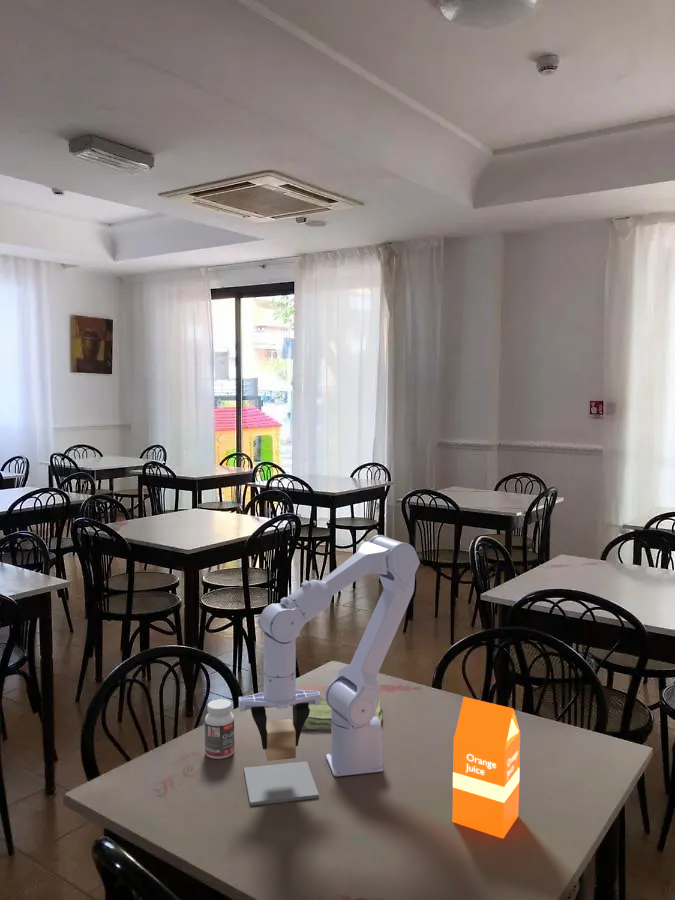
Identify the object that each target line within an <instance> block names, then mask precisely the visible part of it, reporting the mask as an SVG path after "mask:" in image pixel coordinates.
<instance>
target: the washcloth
mask: <svg viewBox="0 0 675 900" xmlns="http://www.w3.org/2000/svg"><path fill="white" fill-rule="evenodd" d="M381 707H382V701H381V700H378V699H377V705H376V713H375V715H374V716H375V717H378V718H379V721H380V724H381V725H382V719H383V712H382V711H381ZM309 709H310V713H309V716H308V718H307V719H306V721H305V723H304V725H303V728H302V730H305V729H309V730H310V731H331V716H332V714H331V707H329V705H328V704H327V702H326V699H325V696H320V705H314V704H309Z"/></svg>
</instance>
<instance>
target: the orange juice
mask: <svg viewBox="0 0 675 900" xmlns="http://www.w3.org/2000/svg"><path fill="white" fill-rule="evenodd" d="M454 733H455V734H454V736H453V759H452V760H453V761H452V762H453V763H452V764H453V765H452V766H453V769H452V770H453V771H452V820H451V821H452V823H455V824H457V825H460V826H464V827H467V828H469V829H472V830H476V831H479V832H482V833H485V834H488V835H490V836H493V837H497V838H500V839H504V838H505V837H506V835H507V834H508V832H509V830H510V829H511V828H512V826H513V825H514V823H515V822H516V820H517V819H518V817H519V803H520V802H519V801H520V799H519V798H520V773H521V772H520V770H521V769H520V768H521V767H520V763H521V762H520V761H521V760H520V753H521V751H520V749H521V748H520V747H521V731H520V727H519V724H518V720H517V716H516V714H515V709H514V707H513V708H512V707H509V706H504V705H499V704H496V703H493V702H492V703H490V702H487V701H484V700H483V701H482V700H477V699H474V698H469V697H466V696H463V699H462V703H461V707H460V712H459V717H458V721H457V725H456V730H455V732H454Z"/></svg>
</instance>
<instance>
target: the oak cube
mask: <svg viewBox="0 0 675 900" xmlns="http://www.w3.org/2000/svg"><path fill="white" fill-rule="evenodd" d="M266 738H267V749H264V751H265V755H266V760H267V762H269V761H279V760H281V761H282V760H289V759H296V758H297V757H296V756H297V753H296V751H297V746H296V730H295V727H294V725H293V718H286V719H285V718H284V719H275V720H273V719H272V720H267V722H266Z"/></svg>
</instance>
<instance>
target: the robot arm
mask: <svg viewBox="0 0 675 900" xmlns="http://www.w3.org/2000/svg"><path fill="white" fill-rule="evenodd" d="M420 564H421V562H420V559H419V557H418V554H417V552H416V550H415V548H414V546H413V545H411V544H410V543H408V542H402V541H399V540H395V539H393V538H390V537H388V536H386V535H383V534H377V535H374V536H373V537H371V538H370V539H369V540H368V541H366V542H364V543H362V544H361V545H360V547H359V548H358V550H357V551H356V552H355V553H354V554H353V555H351V556H350V557H349V558H348V559H346V560H345V561H344V562H342V563H341V564H340V565H339V566H338V567H336V568H335V569H334V570H332V571H331V572H330V573H329V574H328V575H326V576H325V577H324V578H322V579H320V580H317V579H311V580H309V581H308V580H307V579H306V580H304V581H303V582H302V583H301V584H300V585H301V587H299V588H298V589H296V590H295V591H293V592H292V593H291V594H290V595H288V596H286V597H285V596H284V597H282V598H280V602H279V603H278V602H276V603H273V602H272V603H270V604H269V605H267V606H265V607H264V609H263V610H262V612H261V613H260V616H259V618H257V624H258V627H259V629H260V630H261V632H262V633H263V692H257V693H253V694H250V695H245V696H238V711H239V712H240V713H241V712H246V710H250V712H251V716H252V718H253V721H254V723H255V725H256V726H257V729H258V732H259V735H260V739H261V746H262V750H265V749H267V738H266V722H267V721H268V720H267V719H268V717H267V713H266V712H267V711H266V709H269V708H270V709H271V708H277V709H279V710H281V709H283V710H284V709H288V708H289V707H292V722H293V725H294V727H295V730H296V747H298V746H299V742H300V737H301V733H302V730H303V725H304V723H305V721H306V719H307V718H308V716H309V713H310V709H309V704H314V705H320V697H321V692H320V691H319V690H305V689H304V690H303V689H296V687H297V686H296V675H297V674H296V673H297V672H296V671H297V670H296V667H297V665H296V661H297V660H296V659H297V658H296V655H297V651H296V649H297V647H296V639H297V638H298V637H299V635H300V634H301V632H302V629H303V627H304V626H305V625H306V624H307V623H308V622H310V621H311V620H312V619H314V618H315V617H316V616H317V615H319V614H320V613H322V612H323V611H324V610H326V609H327V608H329V606H330V605H331V603H332V600H333V596H334V595H336V594H337V593H339V592H340V591H342V590H343V589H345V588H347V587H349V586H350V585H352V584H353V583H355V582H356V581H358V580H360V579H361V578H362V577H364V576H366V575H369V574H371V575H378V578H379V580H380V582H381V585H382V588H383V590H382V592H381V594H380V596H379V598H378V601H377V604H376V606H375V608H374V609H373V612H372V614H371V616H370V618H369V621H368V624H367V625H366V628H365V630H364V633H363V635H362V637H361V639H360V641H359V644H358V646H357V648H356V650H355V653H354V655H353V658H352V659H351V661H350V664H348V665H345V666H344V667H342V668H341V669H339V671H338V673H337V675H336V676H335V678H334V679H332V681H331V682H329V684H328V686H326V690H325V694H324V697H325V699H326V702H327V704H328V705H329V707H331V714H332V716H331V730H330V731H331V733H330V734H331V735H330V736H331V737H330V739H331V740H330V741H331V742H330V748H331V749H330V750H331V753H327V754H326V755H325V758H326V760H327V763H328V765H329V767H330V770H331V772H332V775H333V777H343V776H353V775H362V774H370V773H371V774H372V773H379V772H380V773H381V772H383V771H384V766H383V729H382V723H381V724H380V721H379V718H378V717H375V716H374V715H375V713H376V705H377V700H378V699H379V695H380V693H381V691H380V690H381V689H380V685H379V682H378V678H377V676H378V674H379V672H380V670H381V667H382V665H383V664H384V663H383V662H384V660H385V658H386V656H387V655H388V651H389V649H390V646H391V644H392V642H393V641H394V638H395V636H396V633H397V632H398V629H399V626H400V624H401V622H402V619H403V618H404V615H405V613H406V612H407V611H406V610H407V609H408V606H409V604H410V602H411V599H412V597H413V595H414V592H415V585H416V584H415V581H416V572H417V570H418V568H419V566H420Z"/></svg>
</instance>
